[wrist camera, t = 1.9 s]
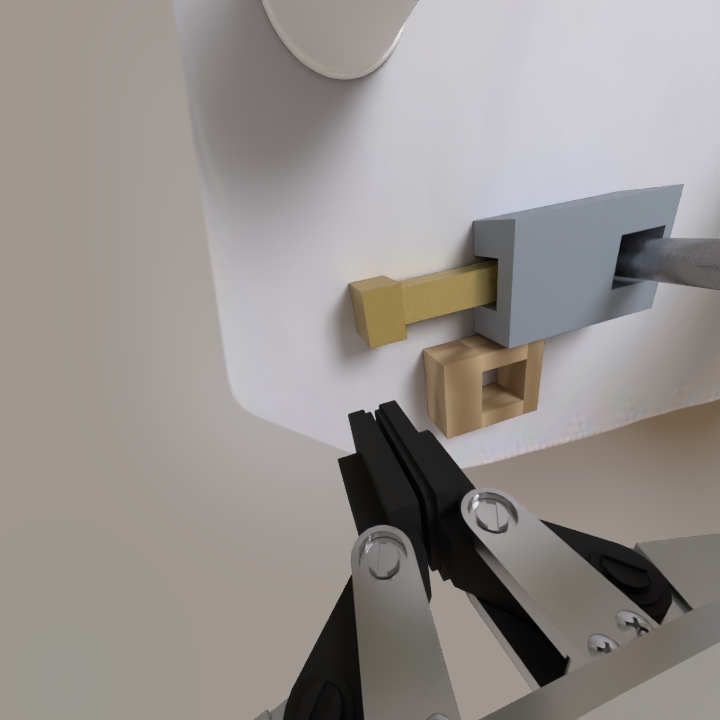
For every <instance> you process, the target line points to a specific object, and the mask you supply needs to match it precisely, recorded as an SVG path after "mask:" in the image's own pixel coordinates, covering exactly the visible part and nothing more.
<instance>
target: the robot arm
mask: <svg viewBox="0 0 720 720" xmlns="http://www.w3.org/2000/svg"><path fill="white" fill-rule="evenodd" d="M348 417H349V422H350V426H351V431H352V435H353V439H354V444H355V448H356V453H355V454H352V455H349V456H346V457H342V458H340V459H338V462H339V466H340V470H341V474H342V477H343V481H344V485H345V489H346V492H347V496H348V500H349V503H350V507H351V510H352V514H353V517H354V521H355V524H356V528H357V531H358V535H359V538H358V539H357V540H356V542H355V544H354V546H353V549H352V554H351V568H352V575H351V577H350V578H349V580H348V583H347V584H346V586H345V588H344V590H343V592H342V594H341V596H340V598H339V600H338V602H337V603H336V605H335V608H334V609H333V611H332V613H331V615H330V617H329V619H328V621H327V623H326V625H325V627H324V628H323V630H322V632H321V634H320V636H319V638H318V640H317V642H316V644H315V646H314V648H313V650H312V652H311V654H310V655H309V657H308V659H307V661H306V663H305V665H304V667H303V669H302V671H301V673H300V675H299V677H298V679H297V681H296V683H295V684H294V686H293V688H292V690H291V693H290V696H289V698H288V699H286V700H285V701H284V702H283V703H281V704H280V705H279V706H278V707H276V708H275V709H274V710H273V711H271V712H269V711H268V710H266V711H264V712H263V713H262V714H261V715H259V716H258V717H257V718H255V719H254V720H461V718H460V714H459V710H458V707H457V703H456V700H455V696H454V693H453V689H452V685H451V682H450V678H449V675H448V671H447V667H446V664H445V660H444V657H443V653H442V650H441V646H440V642H439V639H438V635H437V632H436V628H435V624H434V621H433V617H432V614H431V610H430V607H429V603H430V600H431V596H432V595H431V586H430V578H429V569H428V565H429V567H430V569H431V570H432V571H435V570H438V571H439V573H440V575H441V577H442V579H443V581H446V580H448V579H451V581H452V583H453V585H454V586H455V587H457V588H459V589H461V590H463V591H465V592H466V594H467V596H468V598H469V600H470V602H471V603H472V604H473V606H474V607H475V609H476V610H477V612H478V613H479V615H480V616H481V618H482V619H483V620H484V622H485V623H486V625H487V626H488V628H489V629H490V631H491V632H492V633H493V635H494V636H495V638H496V639H497V640H498V642H499V643H500V645H501V646H502V648H503V649H504V650H505V652H506V654H507V655H508V657H509V658H510V659H511V661H512V662H513V664H514V665H515V667H516V668H517V669H518V671H519V672H520V674H521V675H522V677H523V678H524V679H525V681H526V682H527V684H528V685H529V687H530V688H531V690H532V691H533V692H532V693H530V694H528V695H526V696H524V697H523V698H520V699H518V700H516V701H514V702H512V703H511V704H509V705H507V706H505V707H503V708H501V709H499V710H497V711H495V712H493V713H491V714H489V715H487V716H485V717H483V718H482V719H480V720H720V534H707V535H700V536H691V537H683V538H675V539H667V540H658V541H650V542H642V543H636V545H635V548H627V547H625V546H623V545H620V544H618V543H615V542H611V541H608V540H605V539H602V538H598V537H595V536H592V535H588V534H585V533H582V532H579V531H576V530H572V529H569V528H566V527H563V526H559V525H556V524H553V523H550V522H546V521H543V520H540V519H538V518H536V517H535V516H534V515H533V514H532V513H531V512H530V511H528V510H527V509H526V508H525V507H524V506H523V505H522V504H520V503H519V502H518V501H517V500H516V499H515V498H513V497H512V496H510V495H509V494H507V493H506V492H504V491H501V490H498V489H495V488H489V487H483V488H477V489H476V488H475V487H474V486H473V484H472V483H471V482H470V480H469V479H468V478H467V477H466V475H465V474H464V473H463V472H462V471H461V469H460V468H459V467H458V465H457V464H456V463H455V462H454V460H453V459H452V458H451V456H450V455H449V454H448V453H447V451H446V450H445V449H444V448H443V446H442V445H441V444H440V443H439V441H438V440H437V439H436V437H435V436H434V435H433V434H432V433H431V432H430V431H429V430H426V431H423V432H419V433H418V431H417V430H416V429H415V427H414V426H413V424H412V423H411V422H410V420H409V419H408V417H407V416H406V415H405V413H404V412H403V411H402V409H401V408H400V406H399V405H398V404H397V402H396V401H395V400H393V401H390V402H387V403H383V404H380V405H379V409H378V410H375V417H376V421H375V419H374V417H373V415H372V413H371V412H368V413H365V411H364V410H360V411H357V412H353V413H350V414H348Z"/></svg>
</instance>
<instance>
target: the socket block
mask: <svg viewBox="0 0 720 720" xmlns="http://www.w3.org/2000/svg"><path fill="white" fill-rule="evenodd" d="M683 186H684V184H680V185H671V186H662V187H653V188H644V189H636V190H627V191H618V192H613V193H608V194H603V195H599V196H594V197H589V198H584V199H579V200H574V201H569V202H564V203H559V204H554V205H549V206H545V207H540V208H535V209H530V210H525V211H520V212H515V213H510V214H505V215H500V216H495V217H491V218H486V219H481V220H476V221H474V255H475V256H483V257H491V258H498V283H497V301H496V302H492V303H488V304H484V305H480V306H476V307H474V331H475V332H477V333H479V334H481V335H483V336H485V337H487V338H489V339H491V340H493V341H495V342H497V343H499V344H501V345H503V346H505V347H507V348H513V347H516V346H520V345H523V344H527V343H530V342H534V341H537V340H541V339H544V338H548V337H551V336H555V335H558V334H562V333H565V332H569V331H572V330H576V329H579V328H583V327H586V326H590V325H593V324H597V323H600V322H604V321H607V320H611V319H614V318H618V317H621V316H625V315H628V314H632V313H635V312H639V311H642V310H646V309H649V308H652V304H653V300H654V296H655V293H656V289H657V285H658V282H656V281H648V280H641V279H633V278H626V277H618V276H614V273H615V267H616V262H617V257H618V252H619V247H620V242H621V237H641V238H670V235H671V231H672V228H673V224H674V220H675V216H676V212H677V209H678V205H679V201H680V197H681V193H682V189H683Z"/></svg>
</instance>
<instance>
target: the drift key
mask: <svg viewBox="0 0 720 720" xmlns="http://www.w3.org/2000/svg"><path fill="white" fill-rule="evenodd" d="M497 283H498V261H492V260H490V261H486V262H481V263H477V264H473V265H468V266H464V267H459V268H455V269H451V270H446V271H442V272H438V273H433V274H429V275H425V276H420V277H416V278H412V279H407V280H403V281H398V282H397V281H395V280H393V279H390V278H388V277H385V276H379V277H375V278H370V279H366V280H361V281H357V282H352V283H349V286H350V292H351V297H352V303H353V308H354V314H355V319H356V325H357V330H358V333H359V335H360V336H361V337H362V338H363V340H364V341H365V342H366V343H367V345H368V346H369V347H370V348H375V347H378V346H382V345H386V344H390V343H394V342H397V341H401V340H405V339H407V334H406V324H410V323H413V322H417V321H421V320H425V319H429V318H433V317H437V316H441V315H445V314H449V313H453V312H457V311H460V310H464V309H468V308H472V307H476V306H480V305H484V304H488V303H492V302H496V301H497Z"/></svg>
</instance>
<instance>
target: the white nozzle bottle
mask: <svg viewBox="0 0 720 720" xmlns="http://www.w3.org/2000/svg"><path fill="white" fill-rule="evenodd" d="M261 1H262V3H263V6H264V9H265V11H266V13H267V16H268V18H269V20H270V22H271V24H272V26H273V28H274V29H275V31H276V33H277V34H278V36H279V37H280V39H281V40H282V42H283V43H284V44H285V46H286V47H287V48H288V49H289V50H290V51H291V53H292V54H293V55H294V56H295V57H296V58H297V59H298V60H300V61H301V62H302V63H303V64H304V65H306V66H307V67H309V68H310V69H312V70H313V71H315V72H317V73H319V74H321V75H324V76H327V77H330V78H334V79H342V80H347V79H355V78H359V77H362V76H365V75H367V74H369V73H371V72H372V71H374V70H375V69H377V68H378V67H379V66H380V65H381V64H383V63H384V62H385V60H386V59H387V58H388V57H389V56H390V54H391V53H392V52H393V50H394V49H395V47H396V45H397V43H398V42H399V40H400V37H401V35H402V33H403V30H404V27H405V24H406V21H407V18H408V17H409V15H410V14H411V12H412V10H413V9H414V7H415V6H416V4H417V2H418V1H419V0H261Z"/></svg>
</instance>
